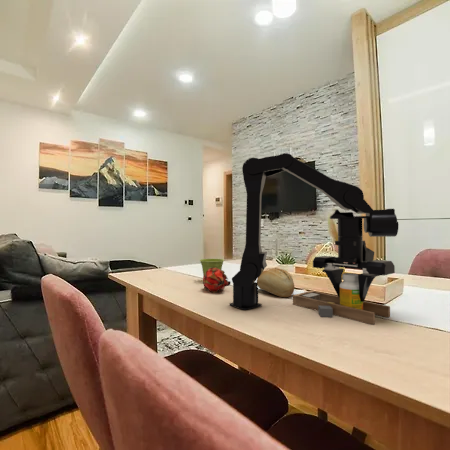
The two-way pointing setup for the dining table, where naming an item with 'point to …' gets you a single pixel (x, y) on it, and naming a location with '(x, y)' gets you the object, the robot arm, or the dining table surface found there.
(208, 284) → the dragon fruit
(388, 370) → the dining table surface
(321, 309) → the gray block
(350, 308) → the walnut beam
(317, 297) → the steel counterweight
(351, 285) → the supplement bottle
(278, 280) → the bread roll
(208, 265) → the plant pot
